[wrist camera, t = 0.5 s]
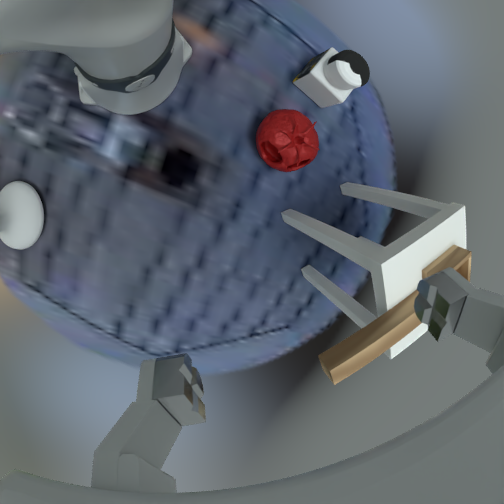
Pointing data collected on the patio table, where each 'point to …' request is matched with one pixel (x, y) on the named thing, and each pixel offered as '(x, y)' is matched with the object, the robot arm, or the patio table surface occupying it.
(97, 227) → the patio table surface
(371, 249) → the tall stand
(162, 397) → the robot arm
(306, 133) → the pomegranate
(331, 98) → the medicine bottle
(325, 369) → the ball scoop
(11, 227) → the flower in vase
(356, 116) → the patio table surface
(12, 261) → the patio table surface
